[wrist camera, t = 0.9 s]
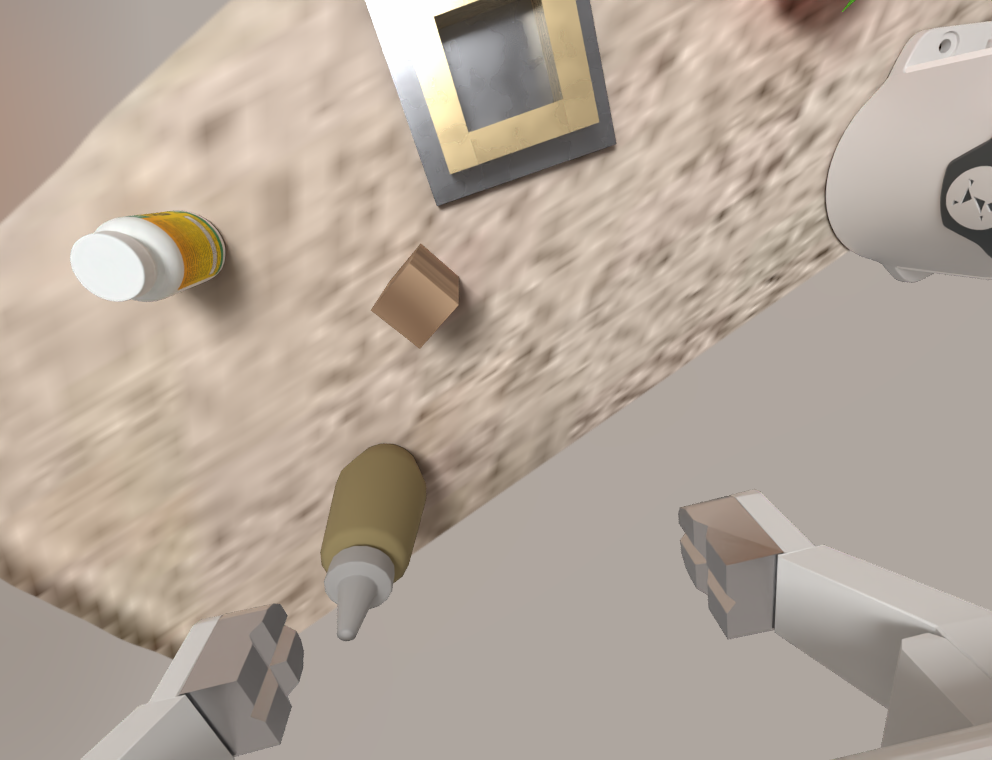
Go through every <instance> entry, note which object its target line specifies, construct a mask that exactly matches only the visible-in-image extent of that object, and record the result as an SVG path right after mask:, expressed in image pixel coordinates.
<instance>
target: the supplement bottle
mask: <svg viewBox="0 0 992 760" xmlns="http://www.w3.org/2000/svg"><path fill="white" fill-rule="evenodd" d="M70 261H71V266H72V269H73V272H74V274H75V276H76V277H77V279H78V280H79V281H80V283H81V284H82V285H83V286H84V287H85V288H86V289H87V290H89V291H90V292H91V293H93V294H94V295H96V296H98V297H100V298H103V299H106V300H109V301H118V302H121V301H127V300H131V299H132V300H136V301H142V302H153V301H158V300H162V299H165V298H167V297H170V296H172V295H175V294H177V293H179V292H182V291H184V290H186V289H189V288H191V287H194V286H196V285H199V284H201V283H204V282H206V281H208V280H210V279H212V278H214V277H215V276H216V275H217V274H218V273H219V272H220V271H221V269H222V268H223V265H224V261H225V245H224V242H223V240H222V237H221V235H220V234H219V232H218V231H217V229H216V228H215V227H214V226H213V225H212V224H211V223H210V222H209V221H208V220H206V219H204V218H203V217H201V216H199V215H197V214H194V213H191V212H187V211H167V212H160V213H151V214H143V215H134V216H126V217H119V218H114V219H111V220H109V221H107V222H105V223H103V224H102V225H101V226H99V227H98V228H97V230H96V231H95V232H94V233H92V234H88V235H85V236H83V237H81V238H80V239H79V240H77V241H76V243H75V244H74V246H73V247H72V250H71V256H70Z"/></svg>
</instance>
